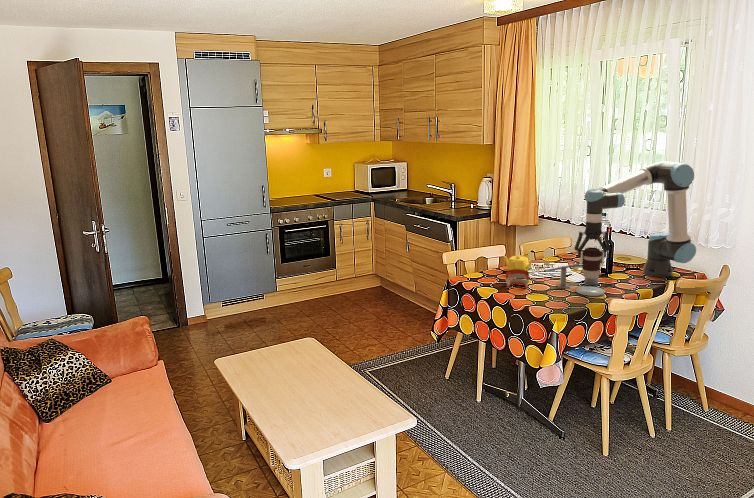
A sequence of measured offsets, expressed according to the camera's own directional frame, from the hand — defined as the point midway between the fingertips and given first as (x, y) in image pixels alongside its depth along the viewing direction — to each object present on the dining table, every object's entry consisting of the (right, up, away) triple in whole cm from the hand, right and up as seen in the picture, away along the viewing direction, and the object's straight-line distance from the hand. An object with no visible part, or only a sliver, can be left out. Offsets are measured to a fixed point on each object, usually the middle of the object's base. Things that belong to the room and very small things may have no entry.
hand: (591, 263), depth 287 cm
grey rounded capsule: (+7, -11, +19) cm, 23 cm away
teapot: (-26, -6, +46) cm, 54 cm away
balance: (-10, -13, +15) cm, 22 cm away
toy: (-33, -13, +21) cm, 41 cm away
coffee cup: (0, -7, +2) cm, 7 cm away
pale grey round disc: (+1, -15, +4) cm, 16 cm away
